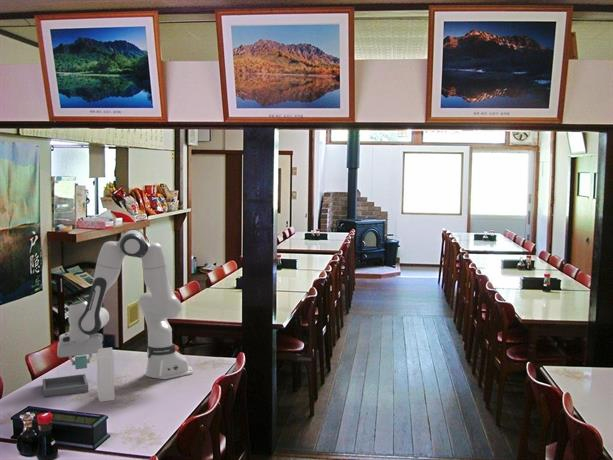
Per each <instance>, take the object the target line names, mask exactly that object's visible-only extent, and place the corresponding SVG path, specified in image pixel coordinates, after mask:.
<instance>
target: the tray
mask: <svg viewBox="0 0 613 460" xmlns="http://www.w3.org/2000/svg"><path fill="white" fill-rule="evenodd" d="M42 391H43V398H48V397H49V398H50V397H58V396H63V395H64V396H65V395H72V394H79V393H87V392H89V383H88V380H87V377H86V374H85V373H83V374H75V375H74V374H73V375H66V376H65V375H64V376H60V377H59V376H58V377H51V378H50V377H49V378H42Z"/></svg>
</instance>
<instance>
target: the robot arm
mask: <svg viewBox="0 0 613 460" xmlns="http://www.w3.org/2000/svg"><path fill="white" fill-rule="evenodd" d="M145 237H146V236H145V234H144V233H143V232H142V231H140V230H139V229H137V228H132V229H128V230H126V231H125V232H124V233H123V234H122V235H121V236H120V237H119V238H118V240H117V241H114V240H109V241H105V242H104V243H103V244H102V246H101V248H100V250H99V252H98V253H99V254H98V255H97V260H96V264H95V270H94V275H93V281H92V283H91V288H90V292H89V295H88V297H87V298H88V299H87V300H77V301H75V302H72V303H71V304H70V305H69V306H68V314H67V315H68V324H69V329H68V332H65V333H62V334H60V335H59V337H58V339H59V341H58V343H57V352H56V355H57V357H58V358H67V357H68V359H69V360H70V361H71V366H75V359H74V358H73V357H75V356H79V355H88V358H87V364H90V363H91V359H92V356H93V354H97V353H98V349H101V348H104V347H103V341H104V336H103V334H102V333H99V331H100V330H101V329H102V328H104V327H105V326H106V325H107V324H108V323H109V321H110V313H109V311H108V310H107V308H105V307H103V302H104V298H105V296H106V294H107V292H108V290H110V288H111V287H112V286H114V284H116V282H117V281H118V278H119V276H120V273H121V270H122V266H123V260H124V258H125V257H126V256H128V257H133V258H139V259H140V261H141V266H142V274H143V280H144V284H145V286H146V287H147V288H148V292H144V293H142V294H141V296H140V297H139V299H138V307H139V309H140V310H141V312H142V314H143V316H144V319H145V323H146V324H145V325H146V326H147V327H146V328H147V342H148V343H147V348H146V353H147V355H146V356H147V364H146V370H145V373H144V375H145V376H146V377H148V378H153V379H160V380H168V379H173V378H174V379H175V378H177V377H178V378H179V377H183V376H189V375H192V374H193V373H194V370H193V369H194V368H193V367H192V366H190V365H189V363H188V359H187V357H185V356H184V354H182V353H180V352H178V351H179V349H180V347H179V346H178V345H176V343H175V344H174V343H173V333H172V332H173V328H172V326H171V325H170V323H169V321H168V319H175V318H177V317H178V316H179V315H180V314H181V312H182V308H183V307H182V306H183V305H182V302H181V301H180V299H178V297H177V296H176V294H175V292H174V290H173V288H172V286H171V282H170V278H169V273H168V268H167V267H168V266H167V261H166V255H165V251H164V249H163V246H162V245H161V244H160V243H158V242H155V241H154V242H153V241H152V242H149V241H147V240H146V238H145ZM73 359H74V360H73Z"/></svg>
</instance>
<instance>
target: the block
mask: <svg viewBox="0 0 613 460" xmlns="http://www.w3.org/2000/svg"><path fill="white" fill-rule="evenodd" d="M87 359H88V358H87V354H85V355H77V356H74V360H75V365H74V366H75V370H81V369H88V363H87Z"/></svg>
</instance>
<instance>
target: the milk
mask: <svg viewBox="0 0 613 460" xmlns="http://www.w3.org/2000/svg"><path fill="white" fill-rule="evenodd" d="M114 363H115V358H114V352H113V347H103V348H101V349H98V353H96V365H97V366H96V367H97V369H96V370H97V374H96V376H97V377H96V378H97V398H98V401H99V402H100V403H101V402H108V401H115V364H114Z"/></svg>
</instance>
